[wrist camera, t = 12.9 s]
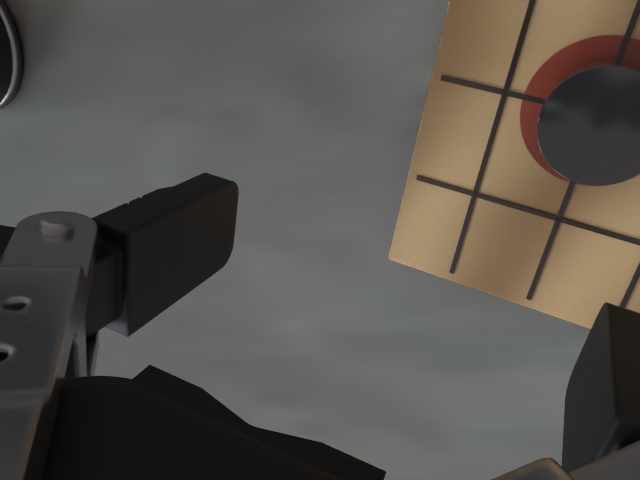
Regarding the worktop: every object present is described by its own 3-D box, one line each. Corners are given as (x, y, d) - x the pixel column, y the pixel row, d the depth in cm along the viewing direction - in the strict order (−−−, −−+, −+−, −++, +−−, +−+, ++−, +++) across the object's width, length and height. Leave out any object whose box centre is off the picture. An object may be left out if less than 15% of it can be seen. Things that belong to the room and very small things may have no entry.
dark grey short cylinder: (529, 150, 26) (521, 168, 24) (563, 47, 24) (558, 53, 22) (636, 178, 25) (640, 200, 22) (682, 71, 23) (693, 80, 20)
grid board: (394, 251, 32) (386, 260, 31) (497, -174, 24) (491, -183, 22) (684, 349, 28) (687, 364, 27) (949, -134, 19) (970, -142, 18)
